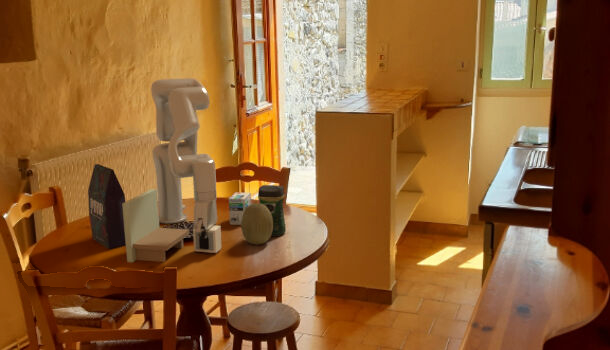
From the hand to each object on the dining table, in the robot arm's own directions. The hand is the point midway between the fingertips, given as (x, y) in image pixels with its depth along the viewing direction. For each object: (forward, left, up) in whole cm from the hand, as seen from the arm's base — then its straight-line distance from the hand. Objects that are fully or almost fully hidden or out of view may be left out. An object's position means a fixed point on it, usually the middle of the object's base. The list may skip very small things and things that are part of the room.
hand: (207, 245), depth 206 cm
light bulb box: (-37, -1, -3) cm, 37 cm away
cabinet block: (0, 0, -2) cm, 2 cm away
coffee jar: (-24, +16, -3) cm, 29 cm away
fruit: (-12, +14, -3) cm, 19 cm away
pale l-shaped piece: (+4, -16, -2) cm, 16 cm away
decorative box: (-4, -40, -3) cm, 40 cm away
